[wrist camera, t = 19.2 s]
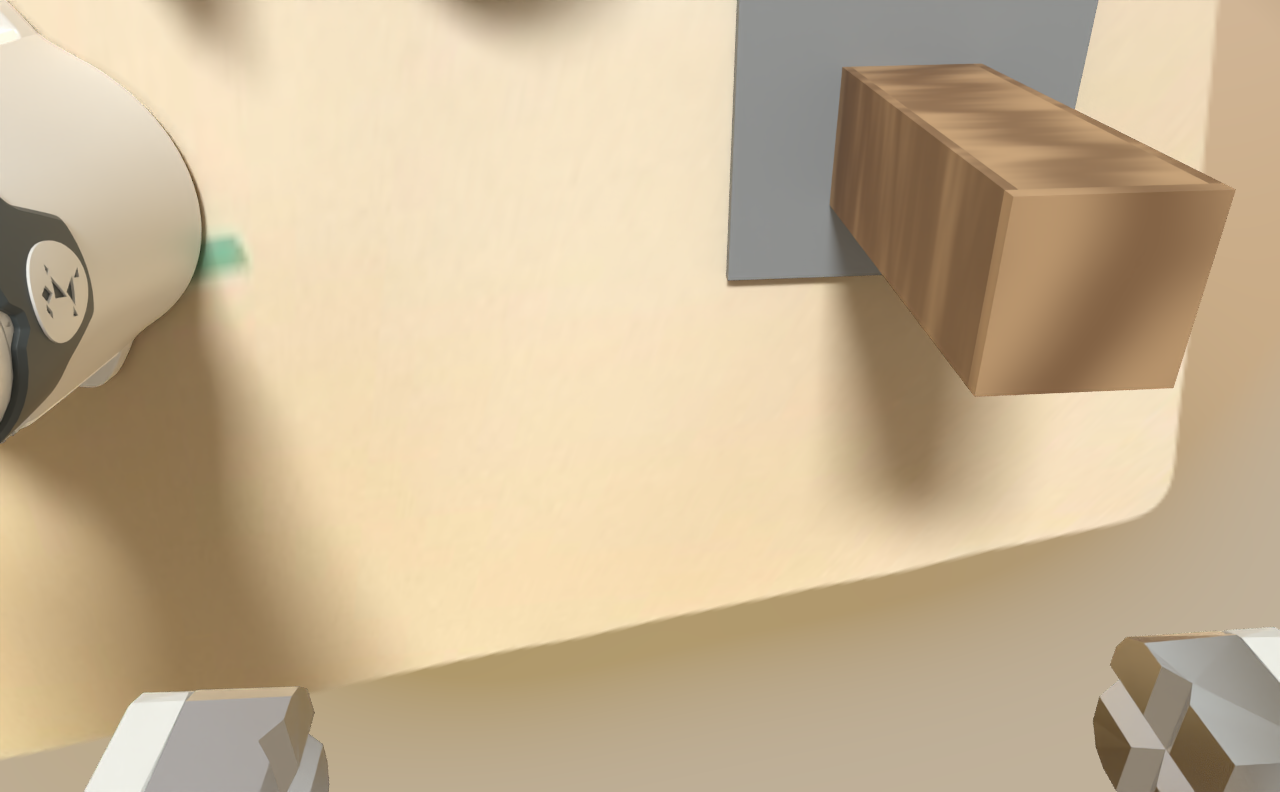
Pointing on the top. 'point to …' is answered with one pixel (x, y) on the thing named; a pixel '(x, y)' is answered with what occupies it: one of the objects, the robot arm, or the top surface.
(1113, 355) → the block
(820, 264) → the mat
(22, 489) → the top surface
